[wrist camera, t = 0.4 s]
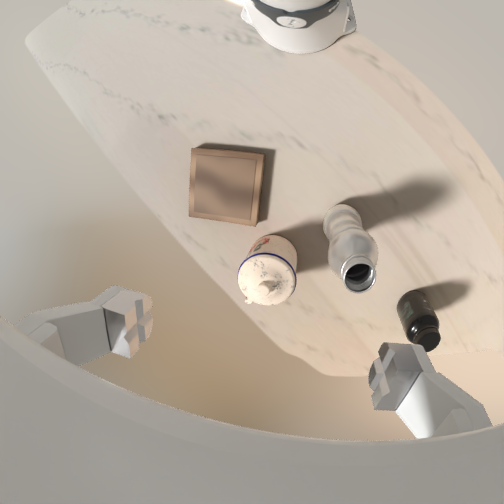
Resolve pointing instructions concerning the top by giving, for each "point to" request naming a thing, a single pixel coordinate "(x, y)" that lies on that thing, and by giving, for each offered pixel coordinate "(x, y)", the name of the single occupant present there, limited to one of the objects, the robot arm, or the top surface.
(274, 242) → the teacup with lid
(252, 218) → the display stand
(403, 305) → the supplement bottle
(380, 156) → the top surface
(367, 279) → the plastic bottle
